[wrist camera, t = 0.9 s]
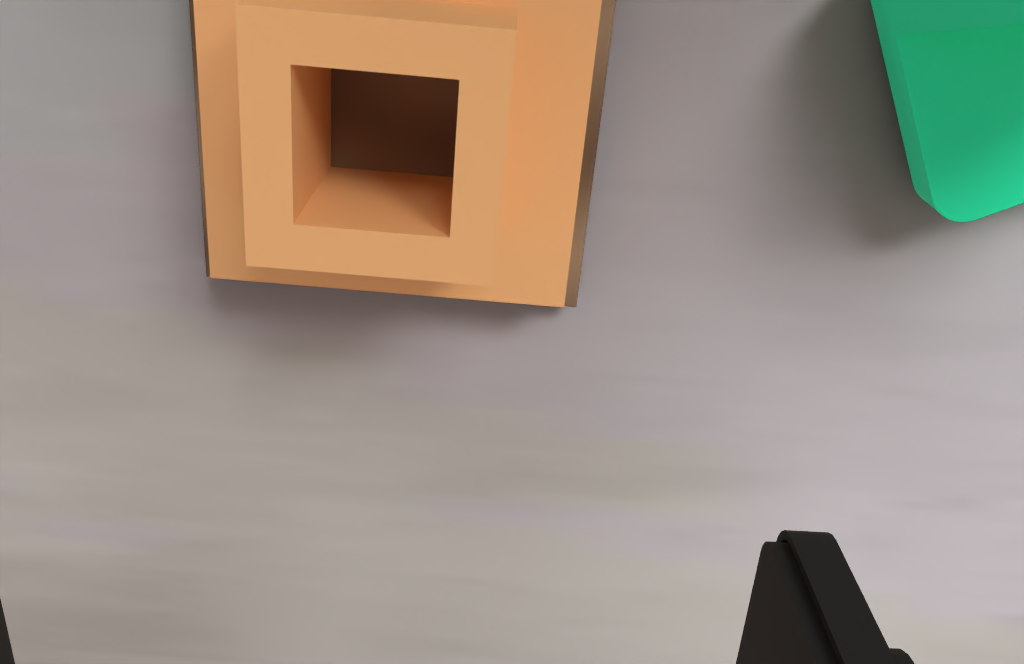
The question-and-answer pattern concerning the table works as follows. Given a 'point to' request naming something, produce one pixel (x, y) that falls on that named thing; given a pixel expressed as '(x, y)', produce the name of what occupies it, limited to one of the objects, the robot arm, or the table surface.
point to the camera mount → (958, 99)
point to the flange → (390, 195)
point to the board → (427, 129)
